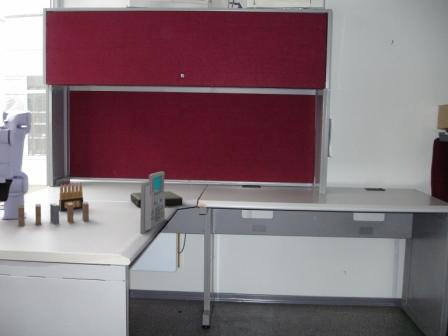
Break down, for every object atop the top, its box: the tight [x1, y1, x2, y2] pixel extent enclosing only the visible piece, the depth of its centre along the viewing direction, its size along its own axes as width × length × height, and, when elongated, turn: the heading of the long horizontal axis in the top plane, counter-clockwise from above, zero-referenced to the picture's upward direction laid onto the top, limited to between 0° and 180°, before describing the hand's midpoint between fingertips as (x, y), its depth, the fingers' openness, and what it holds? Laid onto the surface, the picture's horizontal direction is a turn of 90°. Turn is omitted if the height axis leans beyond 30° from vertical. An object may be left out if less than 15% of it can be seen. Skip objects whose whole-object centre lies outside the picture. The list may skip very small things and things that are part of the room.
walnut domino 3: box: [66, 203, 74, 224], centre depth 153 cm, size 5×2×7 cm, turn 25°
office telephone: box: [139, 171, 166, 234], centre depth 147 cm, size 23×3×20 cm, turn 170°
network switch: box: [130, 190, 183, 209], centre depth 195 cm, size 23×23×5 cm
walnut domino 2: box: [34, 203, 42, 226], centre depth 148 cm, size 5×2×7 cm, turn 25°
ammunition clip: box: [58, 182, 84, 213], centre depth 175 cm, size 11×2×12 cm, turn 138°
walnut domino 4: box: [81, 201, 90, 223], centre depth 155 cm, size 5×2×7 cm, turn 25°
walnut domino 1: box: [17, 204, 26, 227], centre depth 146 cm, size 5×2×7 cm, turn 25°
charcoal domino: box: [49, 202, 60, 225], centre depth 150 cm, size 5×2×7 cm, turn 38°
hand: (3, 200), depth 143 cm, fingers open, 4 cm apart
